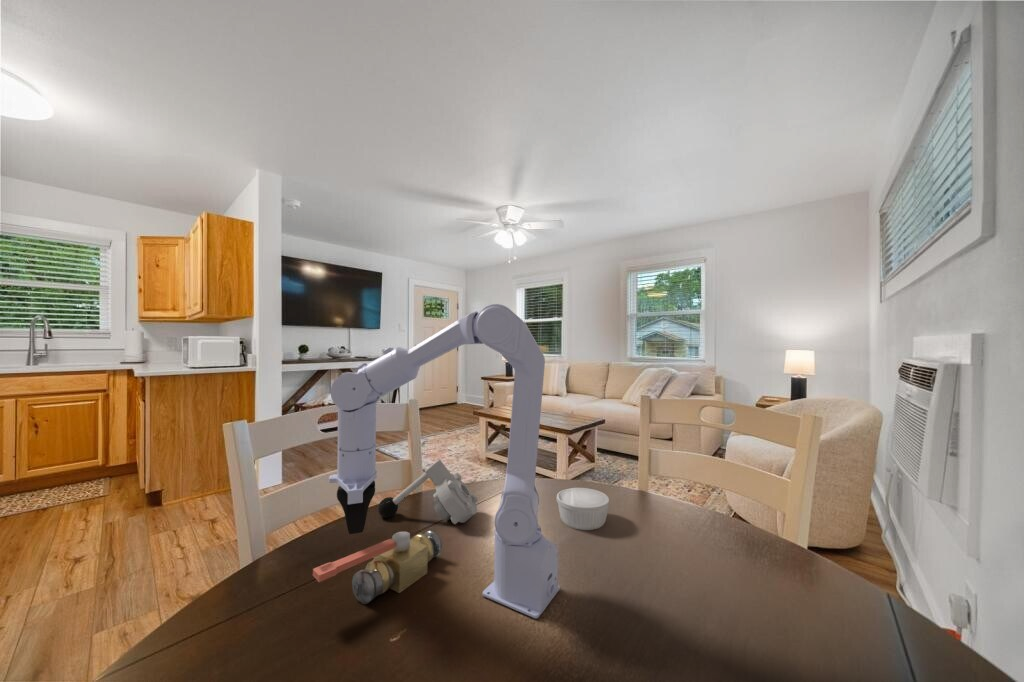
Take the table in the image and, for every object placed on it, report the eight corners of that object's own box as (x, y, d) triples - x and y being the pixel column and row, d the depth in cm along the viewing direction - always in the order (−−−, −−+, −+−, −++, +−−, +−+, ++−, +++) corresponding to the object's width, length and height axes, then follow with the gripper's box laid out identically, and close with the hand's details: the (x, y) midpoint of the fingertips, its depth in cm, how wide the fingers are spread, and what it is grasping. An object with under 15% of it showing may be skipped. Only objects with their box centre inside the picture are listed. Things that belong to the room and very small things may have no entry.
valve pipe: (420, 550, 70) (420, 524, 70) (445, 560, 67) (445, 532, 67) (348, 595, 57) (348, 563, 57) (374, 610, 54) (375, 576, 54)
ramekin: (547, 514, 85) (547, 491, 85) (588, 506, 90) (588, 484, 90) (575, 538, 75) (576, 511, 75) (620, 527, 80) (620, 502, 80)
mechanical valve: (476, 518, 77) (430, 459, 79) (408, 574, 77) (364, 514, 79) (483, 501, 87) (443, 449, 89) (423, 551, 87) (384, 498, 89)
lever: (403, 540, 64) (404, 529, 64) (413, 546, 62) (413, 535, 62) (311, 579, 53) (312, 566, 53) (319, 588, 51) (319, 575, 51)
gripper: (333, 438, 66) (332, 515, 66) (324, 462, 53) (323, 560, 53) (376, 434, 69) (375, 509, 69) (378, 457, 55) (377, 550, 55)
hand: (356, 531), depth 61 cm, fingers closed
